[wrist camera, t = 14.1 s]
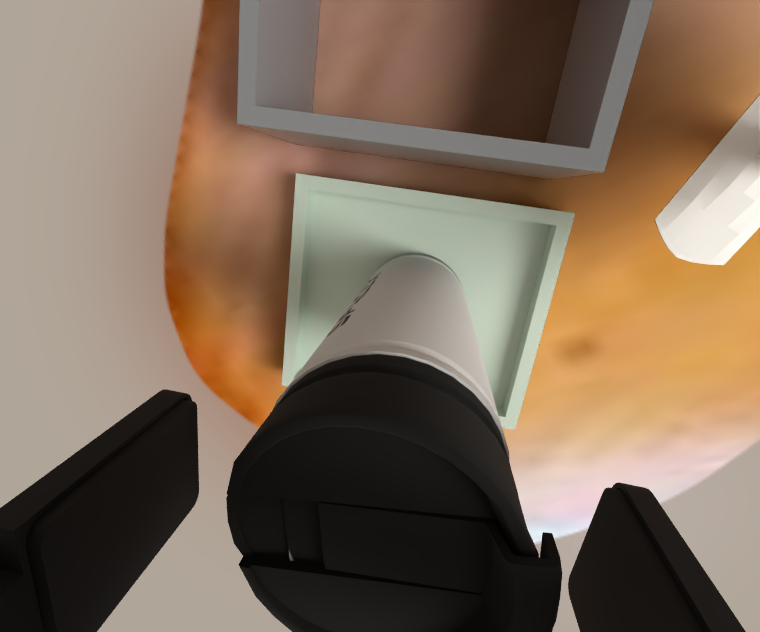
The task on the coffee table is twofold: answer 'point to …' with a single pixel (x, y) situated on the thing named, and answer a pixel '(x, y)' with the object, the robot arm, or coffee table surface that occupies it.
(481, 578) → the travel mug
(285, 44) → the deep bin
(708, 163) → the heart sculpture
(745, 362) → the coffee table surface
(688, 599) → the robot arm
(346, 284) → the tray
